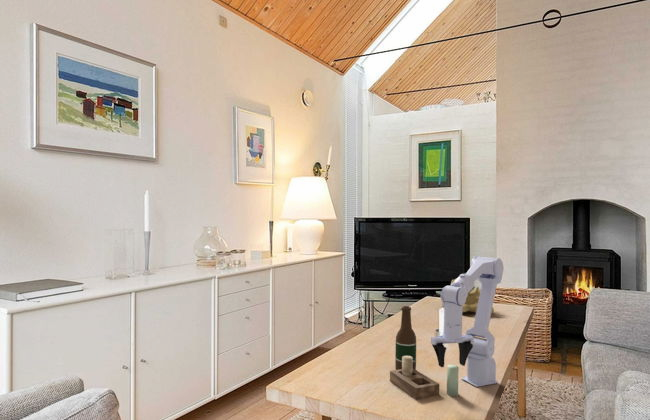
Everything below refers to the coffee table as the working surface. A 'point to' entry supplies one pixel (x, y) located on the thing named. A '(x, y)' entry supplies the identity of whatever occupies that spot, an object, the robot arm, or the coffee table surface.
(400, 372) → the socket board
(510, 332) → the coffee table surface
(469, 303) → the decorative coral
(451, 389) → the green peg
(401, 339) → the beer bottle
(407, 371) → the birch peg
